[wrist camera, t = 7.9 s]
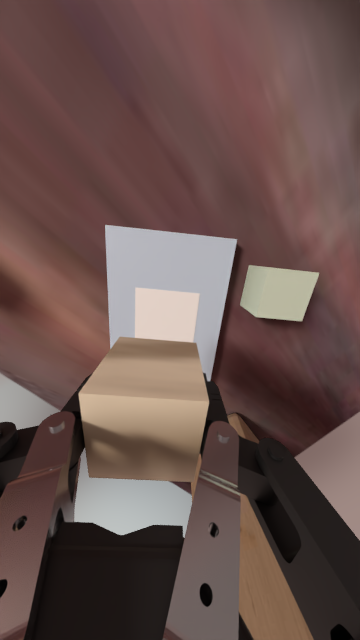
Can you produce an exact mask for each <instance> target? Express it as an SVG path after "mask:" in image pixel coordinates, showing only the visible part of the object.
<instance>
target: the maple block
mask: <svg viewBox="0 0 360 640" xmlns="http://www.w3.org/2000/svg"><path fill="white" fill-rule="evenodd" d="M79 401H80V409H81V417H82V425H83V433H84V441H85V449H86V457H87V465H88V473H89V477H92V478H115V479H136V480H160V481H182V482H194V478H195V473H196V468H197V463H198V457H199V452H200V447H201V442H202V437H203V432H204V426H205V421H206V416H207V411H208V406H209V398H208V394H207V389H206V385H205V380H204V376H203V371H202V366H201V362H200V357H199V353H198V348H197V344H196V343H193V342H180V341H168V340H155V339H143V338H130V337H119V338H118V340H117V341H116V342H115V344H114V345H113V347H112V348H111V349H110V351H109V352H108V353H107V355H106V356H105V358H104V359H103V360H102V362H101V363H100V364H99V366H98V367H97V369H96V370H95V371H94V373H93V374H92V375H91V377H90V378H89V380H88V381H87V382H86V384H85V385H84V386H83V388H82V389H81V390H80V392H79Z"/></svg>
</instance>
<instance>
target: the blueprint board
mask: <svg viewBox="0 0 360 640" xmlns="http://www.w3.org/2000/svg"><path fill="white" fill-rule="evenodd" d="M105 233H106V257H107V280H108V303H109V327H110V349H111V348H112V347H113V345H114V344H115V342H116V341H117V340H118V338H119V337H130V338H143V339H155V340H168V341H180V342H193V343H196V344H197V348H198V353H199V357H200V362H201V366H202V371H203V373H206V377H207V381H210V380H211V374H212V369H213V364H214V359H215V353H216V348H217V343H218V337H219V332H220V327H221V322H222V316H223V311H224V306H225V301H226V295H227V290H228V285H229V280H230V274H231V269H232V264H233V258H234V253H235V248H236V243H237V239H229V238H220V237H211V236H201V235H192V234H183V233H174V232H165V231H156V230H147V229H138V228H128V227H119V226H110V225H105Z"/></svg>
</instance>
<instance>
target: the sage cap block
mask: <svg viewBox="0 0 360 640" xmlns="http://www.w3.org/2000/svg"><path fill="white" fill-rule="evenodd" d="M318 275H319V273H315V272H306V271H298V270H289V269H280V268H271V267H261V266H252V265H249V268H248V272H247V277H246V281H245V285H244V290H243V294H242V299H241V303H240V305H241V306H242V307H243V308H245V309H246V310H247V311H249V312H250V313H251V314H253V315H254V316H255V317H260V318H271V319H282V320H292V321H302V320H303V317H304V314H305V312H306V309H307V306H308V303H309V300H310V298H311V295H312V292H313V289H314V287H315V284H316V281H317V278H318Z"/></svg>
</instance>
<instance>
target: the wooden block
mask: <svg viewBox="0 0 360 640" xmlns="http://www.w3.org/2000/svg"><path fill="white" fill-rule="evenodd" d="M227 417H228V421H229V424H230V425H231V426H232V427H233V428H234V429H235V430H236V431H237V433H238V435H240V436H241V437H243V438H245V439H248V440H250V441H253V442H256V443H259V440H258V439H257V438H256V436H255V435H254V434H253V432H252V431H251V430H250V429H249V427H248V426H247V425H246V423H245V422H244V421H243V420H242V418H241V417H240V416H239V415H238V414H236V413H233V414H230V415H228V416H227ZM201 462H202V460H201V454H199V457H198V463H197V468H196V473H195V478H194V482H191V489H192V502H193V498H194V493H195V489H196V484H197V479H198V475H199V471H200V466H201ZM240 496H241V508H240V568H239V613H240V615H241V617H242V618H243V620H244V622H245V624H246V626H247V628H248V629H249V631H250V633H251V635H252V637H253V639H254V640H314V639H313V637H312V635H311V633H310V631H309V628H308V626H307V624H306V622H305V620H304V618H303V616H302V613H301V611H300V609H299V607H298V605H297V603H296V601H295V599H294V596H293V594H292V592H291V590H290V588H289V586H288V584H287V581H286V579H285V577H284V575H283V573H282V571H281V569H280V567H279V564H278V562H277V560H276V558H275V556H274V554H273V552H272V549H271V547H270V545H269V543H268V541H267V539H266V537H265V535H264V532H263V530H262V528H261V526H260V524H259V522H258V520H257V517H256V515H255V513H254V511H253V509H252V507H251V505H250V503H249V500H248V498H247V496H246V495H244V494H241V493H240Z"/></svg>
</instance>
